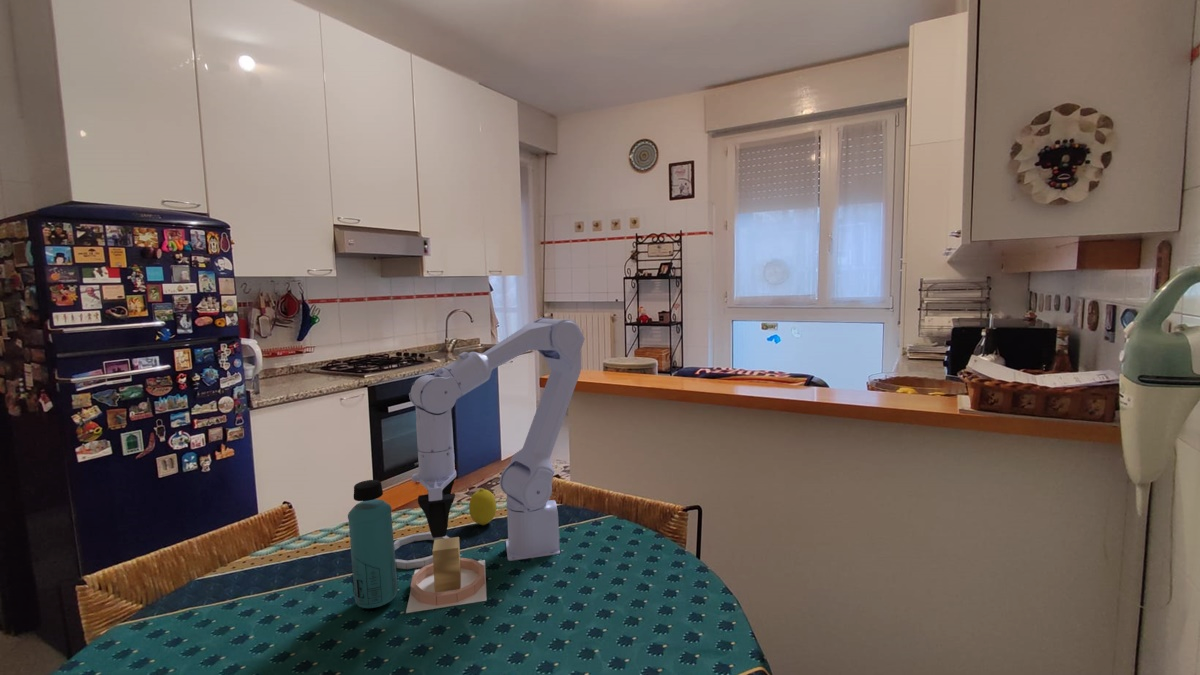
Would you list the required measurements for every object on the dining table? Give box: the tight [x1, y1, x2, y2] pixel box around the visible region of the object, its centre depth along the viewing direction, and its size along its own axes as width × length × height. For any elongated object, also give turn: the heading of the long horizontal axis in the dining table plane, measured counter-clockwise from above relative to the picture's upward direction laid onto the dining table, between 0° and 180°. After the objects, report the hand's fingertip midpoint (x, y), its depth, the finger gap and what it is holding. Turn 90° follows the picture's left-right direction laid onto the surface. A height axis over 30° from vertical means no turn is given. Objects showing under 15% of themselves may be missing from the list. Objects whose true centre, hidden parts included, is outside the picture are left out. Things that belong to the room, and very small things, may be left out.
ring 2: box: [410, 557, 485, 605], centre depth 89 cm, size 12×12×2 cm
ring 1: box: [394, 531, 450, 570], centre depth 100 cm, size 12×12×2 cm
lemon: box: [468, 488, 497, 526], centre depth 112 cm, size 6×6×8 cm
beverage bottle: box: [347, 479, 399, 609], centre depth 83 cm, size 6×7×20 cm
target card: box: [405, 559, 488, 614], centre depth 89 cm, size 12×13×1 cm
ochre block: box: [432, 536, 461, 593], centre depth 89 cm, size 4×4×7 cm
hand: (440, 526), depth 91 cm, fingers open, 7 cm apart
